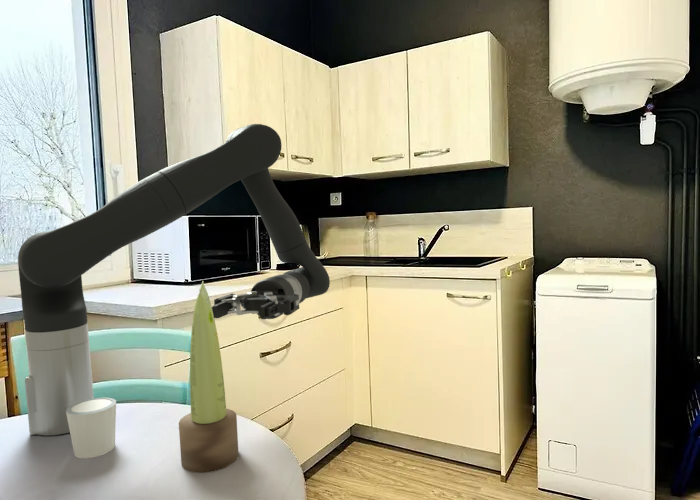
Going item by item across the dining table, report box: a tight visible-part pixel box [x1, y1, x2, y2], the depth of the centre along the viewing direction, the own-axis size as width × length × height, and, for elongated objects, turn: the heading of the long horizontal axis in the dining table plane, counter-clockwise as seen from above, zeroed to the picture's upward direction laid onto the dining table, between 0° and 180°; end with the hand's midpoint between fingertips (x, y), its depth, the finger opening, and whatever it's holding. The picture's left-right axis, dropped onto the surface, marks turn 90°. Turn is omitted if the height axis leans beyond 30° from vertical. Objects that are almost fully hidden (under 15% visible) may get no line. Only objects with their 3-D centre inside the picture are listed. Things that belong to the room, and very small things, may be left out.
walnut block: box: [178, 408, 240, 474], centre depth 74 cm, size 8×8×6 cm
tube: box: [189, 280, 227, 424], centre depth 73 cm, size 6×5×20 cm
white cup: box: [66, 397, 117, 459], centre depth 78 cm, size 7×7×7 cm
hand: (238, 312), depth 83 cm, fingers open, 8 cm apart
